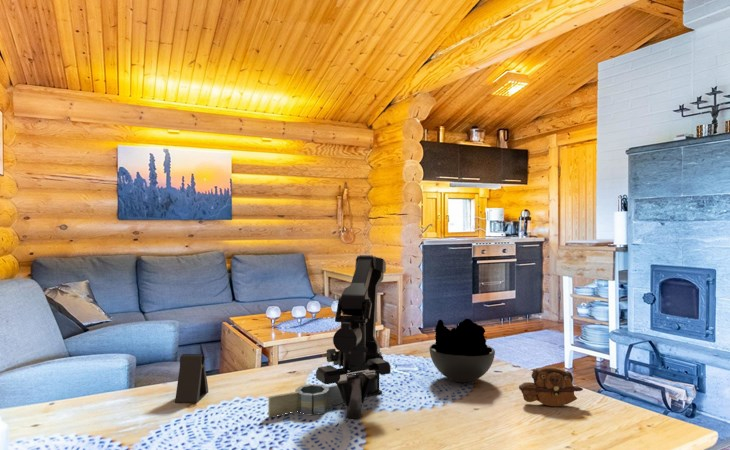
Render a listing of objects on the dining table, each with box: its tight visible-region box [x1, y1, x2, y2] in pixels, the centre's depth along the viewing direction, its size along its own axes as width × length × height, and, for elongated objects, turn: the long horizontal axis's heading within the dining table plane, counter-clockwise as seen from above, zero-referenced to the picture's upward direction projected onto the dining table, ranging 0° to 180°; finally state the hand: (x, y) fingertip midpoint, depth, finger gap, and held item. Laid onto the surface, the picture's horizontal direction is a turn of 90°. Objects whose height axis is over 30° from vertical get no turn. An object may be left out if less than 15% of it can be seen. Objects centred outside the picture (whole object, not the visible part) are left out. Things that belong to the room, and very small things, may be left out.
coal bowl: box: [428, 318, 496, 383], centre depth 152 cm, size 20×20×19 cm
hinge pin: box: [345, 374, 363, 421], centre depth 123 cm, size 4×4×10 cm
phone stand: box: [174, 353, 209, 404], centre depth 136 cm, size 9×6×12 cm, turn 178°
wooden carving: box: [518, 366, 584, 407], centre depth 131 cm, size 16×5×10 cm, turn 89°
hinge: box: [267, 383, 344, 418], centre depth 128 cm, size 24×8×5 cm, turn 120°
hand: (353, 404), depth 123 cm, fingers closed on hinge pin, 4 cm apart
